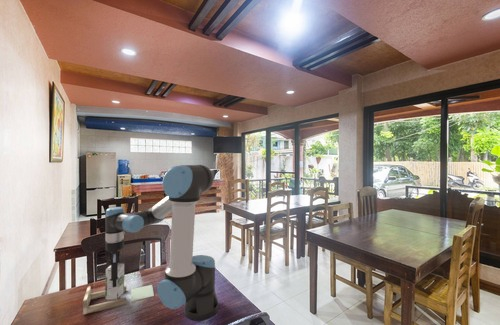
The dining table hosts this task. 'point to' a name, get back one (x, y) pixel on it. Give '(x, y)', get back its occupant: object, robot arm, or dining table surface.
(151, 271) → the dining table surface
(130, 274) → the dining table surface
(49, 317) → the dining table surface
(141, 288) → the sage mat
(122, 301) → the wooden channel
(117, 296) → the syrup box
